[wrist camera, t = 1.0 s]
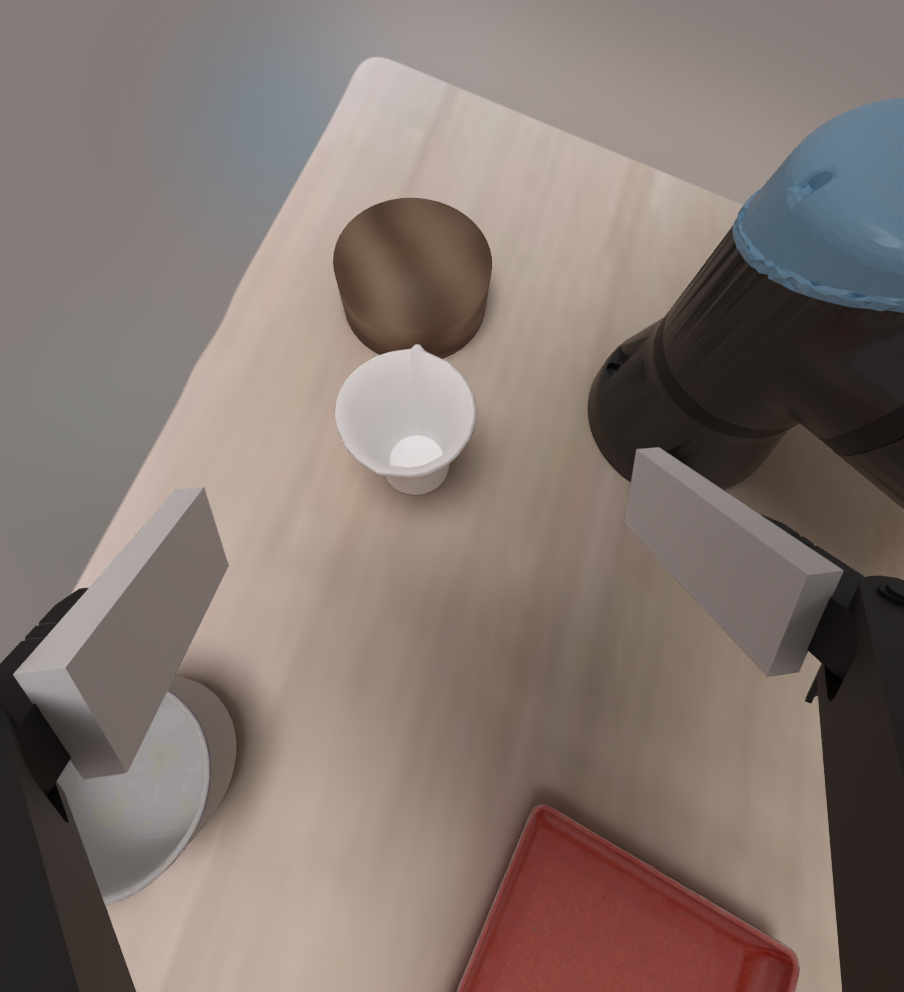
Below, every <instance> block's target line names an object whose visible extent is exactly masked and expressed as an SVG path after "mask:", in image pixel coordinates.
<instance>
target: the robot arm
mask: <svg viewBox="0 0 904 992" xmlns="http://www.w3.org/2000/svg"><path fill="white" fill-rule="evenodd" d="M588 414H589V422H590V426H591V430H592V433H593V436H594V438H595V440H596V442H597V444H598V446H599V448H600V450H601V452H602V453H603V454H604V456H605V457H606V459H607V460H608V461H609V462H610V464H611V465H612V466H613V467H614V468H615V469H616V470H617V471H618V472H619V473H620V474H622V475H623V476H624V477H625V478H627V479H628V480H629V481H631V485H630V492H629V498H628V504H627V510H626V516H625V522H624V524H625V525H626V526H627V527H628V528H629V529H630V530H631V531H632V532H633V534H634V535H635V536H636V537H637V538H638V539H639V540H640V541H641V542H642V543H643V544H644V545H645V546H646V547H647V549H648V550H649V551H650V552H651V553H652V554H653V555H654V556H655V557H656V558H657V559H658V560H659V561H660V562H661V564H662V565H663V566H664V567H665V568H666V569H667V570H668V571H669V572H670V573H671V574H672V575H673V576H674V577H675V579H676V580H677V581H678V582H679V583H680V584H681V585H682V586H683V587H684V588H685V589H686V590H687V591H688V592H689V594H690V595H691V596H692V597H693V598H694V599H695V600H696V601H697V602H698V603H699V604H700V605H701V606H702V607H703V609H704V610H705V611H706V612H707V613H708V614H709V615H710V616H711V617H712V618H713V619H714V620H715V621H716V622H717V624H718V625H719V626H720V627H721V628H722V629H723V630H724V631H725V632H726V633H727V634H728V635H729V636H730V637H731V639H732V640H733V641H734V642H735V643H736V644H737V645H738V646H739V647H740V648H741V649H742V650H743V651H744V653H745V654H746V655H747V656H748V657H749V658H750V659H751V660H752V661H753V662H754V663H755V664H756V665H757V666H758V668H759V669H760V670H761V671H762V672H763V673H764V674H765V675H766V676H767V677H769V676H776V675H782V674H789V673H796V672H799V671H800V668H801V666H802V664H803V662H804V659H805V657H806V655H807V652H808V651H809V652H810V653H811V654H813V655H814V656H815V657H816V658H817V659H818V660H819V661H820V662H821V663H822V664H821V666H820V668H819V670H818V672H817V675H816V677H815V679H814V681H813V683H812V685H811V687H810V689H809V692H808V694H807V697H806V700H805V701H806V702H808V703H812V701H813V699H814V697H815V696H818V701H819V714H820V726H821V738H822V750H823V762H824V774H825V787H826V799H827V811H828V823H829V835H830V848H831V860H832V872H833V884H834V896H835V908H836V921H837V933H838V945H839V957H840V969H841V981H842V992H904V580H901V579H898V578H893V577H886V576H868V577H864V576H863V575H861V574H860V573H858V572H856V571H855V570H853V569H852V568H850V567H849V566H847V565H846V564H844V563H843V562H841V561H840V560H838V559H836V558H835V557H833V556H832V555H830V554H829V553H827V552H826V551H824V550H823V549H821V548H820V547H818V546H814V544H813V543H812V542H810V541H809V540H807V539H806V538H804V537H800V536H799V534H798V533H797V532H795V531H794V530H792V529H790V528H789V527H787V526H786V525H784V524H783V523H781V522H778V521H776V520H773V519H771V518H768V517H766V516H764V515H761V514H758V513H757V512H755V511H754V510H752V509H751V508H749V507H748V506H746V505H745V504H743V503H742V502H740V501H739V500H737V499H736V498H734V497H733V496H731V495H730V494H728V493H727V492H725V491H724V490H726V489H728V488H730V487H732V486H734V485H736V484H738V483H740V482H741V481H743V480H744V479H746V478H747V477H749V476H750V475H751V474H752V473H753V472H754V471H756V470H757V469H758V468H759V466H760V465H761V464H762V463H763V462H764V460H765V459H766V458H767V456H768V455H769V454H770V453H771V451H772V450H773V449H774V447H775V446H776V445H777V444H778V442H779V441H780V440H781V438H782V437H783V436H784V435H785V433H786V432H787V431H788V430H789V429H790V428H792V427H794V426H796V425H798V424H799V423H800V424H802V425H803V426H804V427H805V428H806V429H808V430H809V431H810V432H811V433H812V434H814V435H815V436H816V437H818V438H819V439H820V440H821V441H823V442H824V443H825V444H826V445H827V446H829V447H830V448H831V449H832V450H833V451H834V452H835V453H836V454H837V455H839V456H840V457H841V458H842V459H844V460H845V461H846V462H847V463H848V464H850V465H851V466H852V467H853V468H854V469H856V470H857V471H858V472H859V473H861V474H862V475H863V476H864V477H865V478H867V479H868V480H869V481H870V482H871V483H873V484H874V485H875V486H876V487H877V488H879V489H880V490H881V491H882V492H884V493H885V494H886V495H887V496H888V497H890V498H891V499H892V500H893V501H894V502H896V503H897V504H898V505H899V506H901V507H902V508H903V509H904V98H894V99H887V100H882V101H878V102H873V103H870V104H866V105H863V106H860V107H858V108H855V109H852V110H849V111H847V112H845V113H842V114H840V115H839V116H837V117H835V118H833V119H831V120H829V121H828V122H826V123H825V124H823V125H821V126H820V127H818V128H817V129H816V130H815V131H813V132H812V133H811V134H810V135H808V136H807V137H806V138H805V139H804V140H803V141H802V142H801V143H800V144H799V145H798V146H797V147H796V148H795V149H794V150H793V151H792V153H791V154H790V155H789V156H788V157H787V159H786V160H785V161H784V162H783V163H782V165H781V166H780V167H779V168H778V170H777V171H776V172H775V173H774V174H773V175H772V177H771V178H770V179H769V180H768V181H767V183H766V184H765V185H764V186H763V187H762V188H761V189H760V190H758V191H757V192H756V193H755V194H754V195H752V196H751V197H750V198H749V199H748V200H747V202H746V203H745V204H744V205H743V207H742V208H741V210H740V211H739V213H738V217H737V219H736V220H735V222H734V225H733V226H732V228H731V229H730V230H729V232H728V233H727V234H726V236H725V237H724V238H723V240H722V241H721V242H720V244H719V245H718V246H717V248H716V249H715V250H714V252H713V253H712V254H711V256H710V257H709V258H708V260H707V261H706V263H705V264H704V265H703V267H702V268H701V269H700V271H699V272H698V273H697V275H696V276H695V277H694V279H693V280H692V281H691V283H690V284H689V285H688V287H687V288H686V289H685V291H684V292H683V293H682V295H681V296H680V297H679V298H678V300H677V301H676V302H675V304H674V305H673V307H672V308H671V309H670V311H669V312H668V313H667V315H666V316H665V317H664V318H662V319H661V320H659V321H657V322H656V323H654V324H652V325H651V326H649V327H647V328H646V329H644V330H643V331H641V332H639V333H638V334H636V335H634V336H633V337H631V338H629V339H628V340H626V341H625V342H623V343H622V344H621V345H620V346H619V347H618V348H617V349H616V350H615V351H614V352H613V353H612V354H611V355H610V356H609V357H608V359H607V360H606V362H605V363H604V365H603V366H602V368H601V369H600V371H599V372H598V374H597V376H596V377H595V379H594V382H593V384H592V387H591V390H590V394H589V402H588ZM228 566H229V565H228V562H227V559H226V556H225V552H224V549H223V546H222V543H221V540H220V536H219V533H218V530H217V527H216V524H215V521H214V517H213V514H212V511H211V508H210V505H209V501H208V498H207V495H206V492H205V489H204V487H200V488H189V489H177V490H175V491H174V492H173V493H172V495H171V496H170V497H169V498H168V499H167V500H166V501H165V502H164V504H163V505H162V506H161V507H160V508H159V509H158V510H157V512H156V513H155V514H154V515H153V516H152V517H151V518H150V519H149V521H148V522H147V523H146V524H145V525H144V526H143V527H142V529H141V530H140V531H139V532H138V533H137V534H136V535H135V536H134V538H133V539H132V540H131V541H130V542H129V543H128V544H127V546H126V547H125V548H124V549H123V550H122V551H121V552H120V553H119V555H118V556H117V557H116V558H115V559H114V560H113V561H112V563H111V564H110V565H109V566H108V567H107V568H106V569H105V571H104V572H103V573H102V574H101V575H100V576H99V577H98V578H97V580H96V581H95V582H94V583H93V584H92V585H91V586H90V588H82V589H78V590H77V591H75V592H74V593H72V594H71V595H69V596H68V597H66V598H65V599H63V600H62V601H61V602H59V603H58V604H56V605H55V606H54V607H53V608H52V609H51V610H50V611H49V612H48V613H47V615H46V616H45V617H44V618H43V619H42V620H41V621H40V622H39V626H35V627H34V628H33V629H32V630H31V632H30V633H29V634H28V635H27V636H26V637H25V641H21V642H20V643H19V644H18V646H16V648H15V649H14V650H13V651H12V652H11V653H10V654H9V655H8V656H7V657H6V658H5V659H4V660H3V662H2V663H1V664H0V992H136V990H135V987H134V984H133V982H132V979H131V976H130V973H129V970H128V968H127V965H126V962H125V959H124V957H123V954H122V951H121V948H120V945H119V943H118V940H117V937H116V934H115V931H114V929H113V926H112V923H111V920H110V918H109V915H108V912H107V909H106V906H105V904H104V901H103V898H102V895H101V892H100V890H99V887H98V884H97V881H96V879H95V876H94V873H93V870H92V867H91V865H90V862H89V859H88V856H87V853H86V851H85V848H84V845H83V842H82V840H81V837H80V834H79V831H78V828H77V826H76V823H75V820H74V817H73V814H72V812H71V809H70V806H69V803H68V801H67V798H66V795H65V792H64V791H63V789H62V788H61V786H60V785H59V784H58V782H57V780H58V778H59V777H60V775H61V774H62V772H63V770H64V769H65V767H66V765H67V764H68V762H69V761H71V762H72V764H73V765H74V767H75V768H76V770H77V771H78V773H79V774H80V776H81V777H82V779H83V780H84V779H91V778H97V777H104V776H111V775H117V774H124V773H127V772H128V770H129V768H130V766H131V764H132V762H133V760H134V758H135V756H136V754H137V752H138V750H139V748H140V746H141V744H142V742H143V740H144V738H145V736H146V734H147V731H148V729H149V727H150V725H151V723H152V721H153V719H154V717H155V715H156V713H157V711H158V709H159V707H160V705H161V703H162V701H163V699H164V697H165V695H166V693H167V691H168V689H169V687H170V684H171V682H172V680H173V678H174V676H175V674H176V672H177V670H178V668H179V666H180V664H181V662H182V660H183V658H184V656H185V654H186V652H187V650H188V648H189V646H190V644H191V642H192V640H193V638H194V635H195V633H196V631H197V629H198V627H199V625H200V623H201V621H202V619H203V617H204V615H205V613H206V611H207V609H208V607H209V605H210V603H211V601H212V599H213V597H214V595H215V593H216V591H217V588H218V586H219V584H220V582H221V580H222V578H223V576H224V574H225V572H226V570H227V568H228Z"/></svg>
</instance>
